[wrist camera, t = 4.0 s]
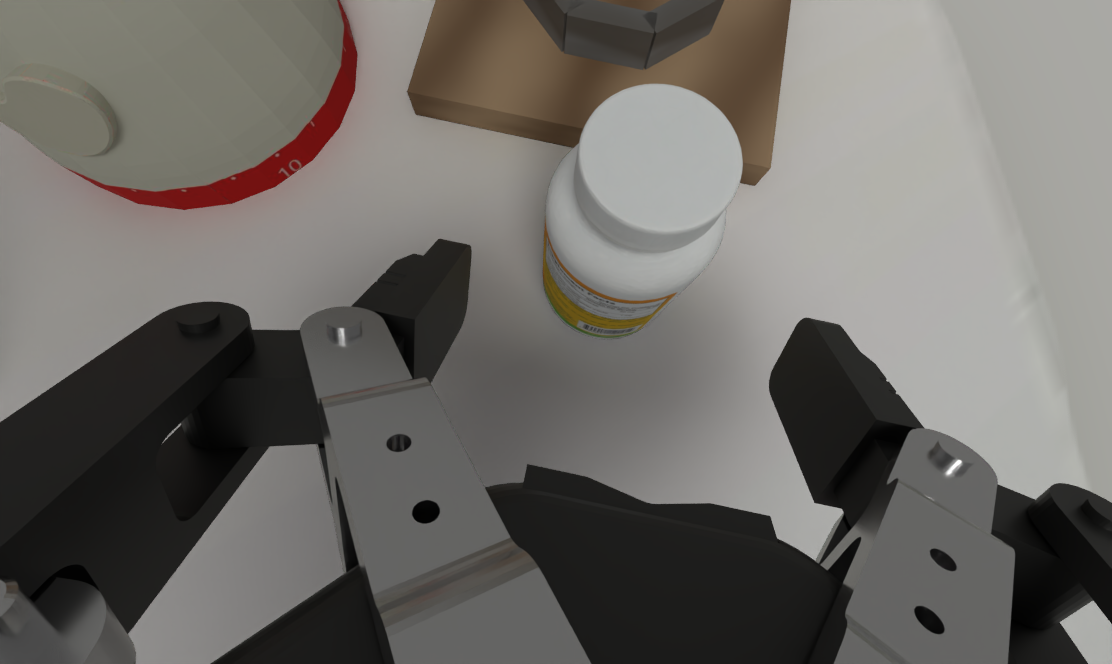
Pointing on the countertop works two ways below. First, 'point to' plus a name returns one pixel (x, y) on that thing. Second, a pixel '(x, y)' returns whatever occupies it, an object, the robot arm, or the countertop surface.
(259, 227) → the countertop surface
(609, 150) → the supplement bottle
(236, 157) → the kitchen timer
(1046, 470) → the countertop surface
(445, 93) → the socket board
